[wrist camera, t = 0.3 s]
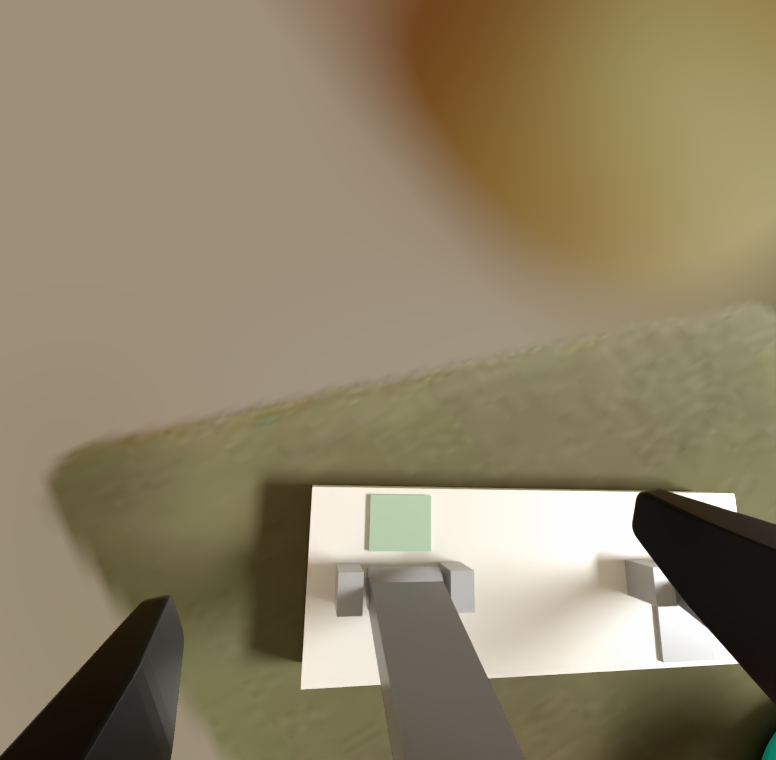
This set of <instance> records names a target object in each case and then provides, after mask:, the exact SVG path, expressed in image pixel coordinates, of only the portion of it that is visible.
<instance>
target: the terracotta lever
mask: <svg viewBox="0 0 776 760" xmlns="http://www.w3.org/2000/svg"><path fill="white" fill-rule="evenodd" d="M366 604H367V609H368V610H369V616H370V622H371V628H372V634H373V641H374V647H375V653H376V659H377V665H378V671H379V677H380V683H381V689H382V696H383V702H384V708H385V714H386V720H387V726H388V732H389V738H390V744H391V750H392V757H393V760H526V759H525V757H524V755H523V752H522V750H521V748H520V746H519V744H518V742H517V739H516V737H515V735H514V733H513V731H512V729H511V726H510V724H509V722H508V720H507V718H506V716H505V714H504V711H503V709H502V707H501V705H500V703H499V701H498V698H497V696H496V694H495V692H494V690H493V688H492V685H491V683H490V681H489V679H488V677H487V675H486V673H485V670H484V668H483V666H482V664H481V662H480V660H479V657H478V655H477V653H476V651H475V649H474V647H473V644H472V642H471V640H470V638H469V636H468V634H467V632H466V629H465V627H464V625H463V623H462V621H461V619H460V616H459V614H458V612H457V610H456V608H455V606H454V603H453V601H452V599H451V597H450V595H449V593H448V591H447V588H446V586H445V584H444V582H443V577H442V573H441V570H440V568H439V567H438V566H428V567H368V568H367V574H366Z"/></svg>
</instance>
